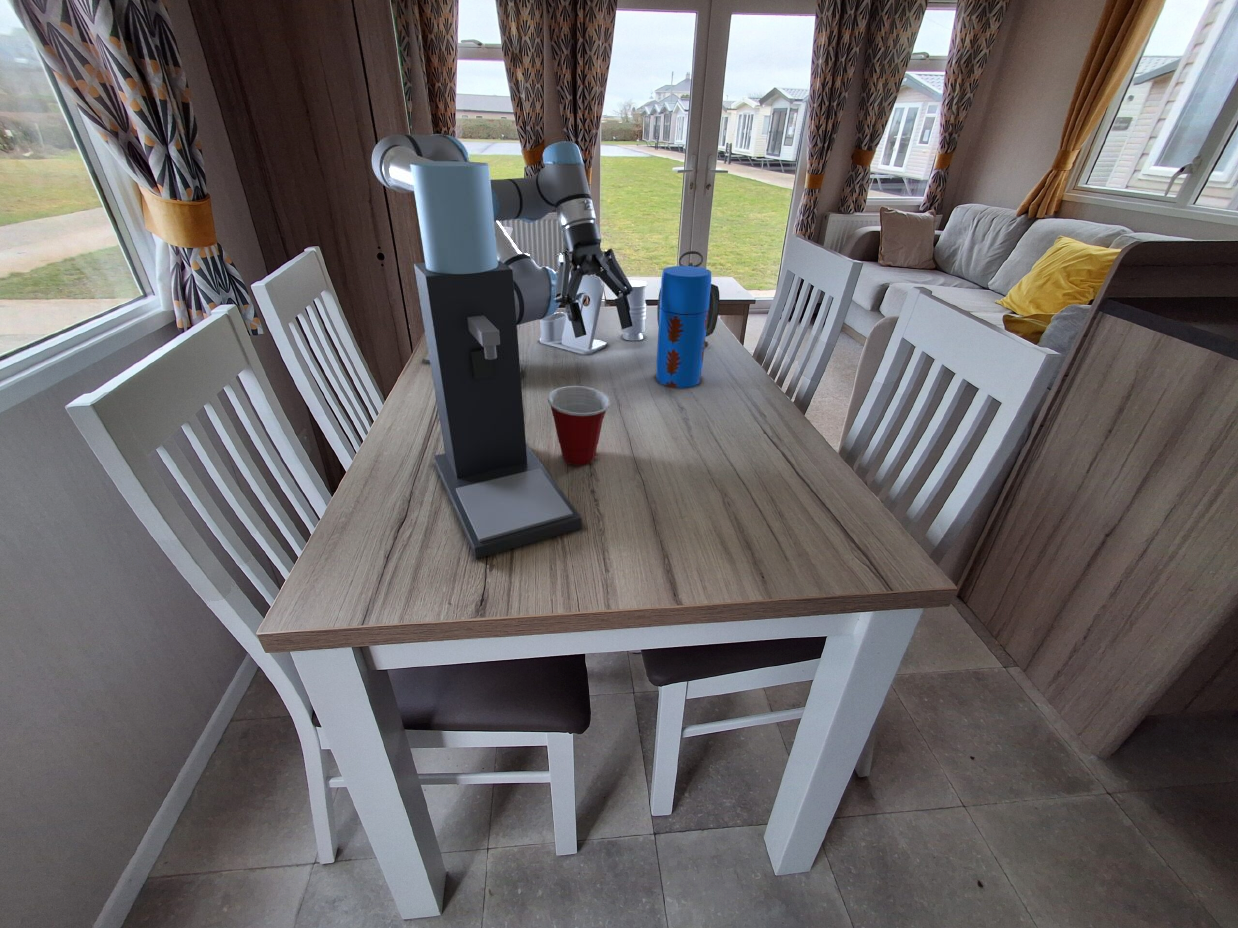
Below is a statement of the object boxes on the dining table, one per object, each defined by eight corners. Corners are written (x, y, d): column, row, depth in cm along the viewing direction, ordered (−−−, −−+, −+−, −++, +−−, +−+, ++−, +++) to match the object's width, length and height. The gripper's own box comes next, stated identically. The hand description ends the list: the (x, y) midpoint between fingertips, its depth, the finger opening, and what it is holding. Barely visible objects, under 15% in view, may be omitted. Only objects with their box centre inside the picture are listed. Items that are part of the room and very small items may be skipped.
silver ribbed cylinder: (632, 331, 163) (634, 279, 155) (649, 337, 159) (652, 284, 151) (615, 336, 159) (616, 283, 151) (633, 342, 155) (634, 288, 147)
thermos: (649, 383, 131) (655, 273, 118) (663, 367, 140) (670, 264, 126) (694, 391, 128) (705, 279, 115) (706, 374, 136) (717, 268, 123)
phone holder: (536, 341, 154) (532, 274, 145) (560, 332, 161) (557, 268, 152) (586, 355, 146) (585, 285, 136) (608, 345, 153) (609, 277, 144)
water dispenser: (434, 464, 98) (380, 161, 74) (521, 445, 105) (498, 161, 80) (476, 559, 77) (419, 179, 53) (581, 528, 84) (575, 177, 59)
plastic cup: (602, 477, 96) (602, 414, 90) (542, 469, 98) (538, 407, 91) (615, 446, 105) (616, 387, 99) (560, 440, 107) (557, 381, 100)
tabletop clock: (667, 355, 147) (674, 256, 134) (652, 344, 154) (657, 249, 141) (714, 348, 152) (725, 252, 139) (697, 338, 159) (706, 246, 146)
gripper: (541, 220, 102) (571, 336, 105) (634, 220, 118) (656, 320, 122) (519, 234, 107) (547, 344, 111) (610, 232, 124) (632, 328, 127)
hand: (605, 332), depth 116 cm, fingers open, 13 cm apart
